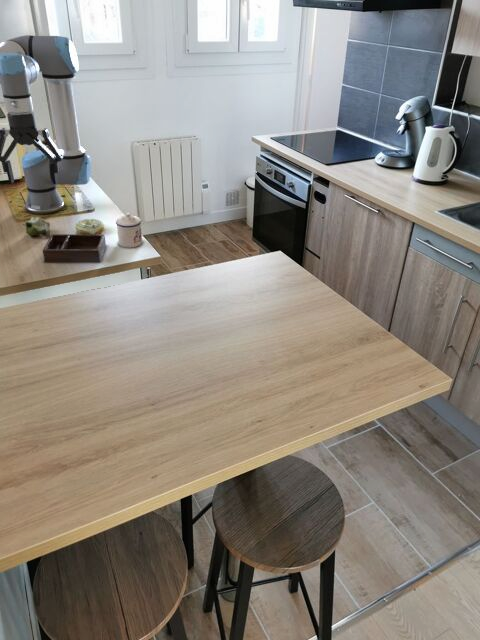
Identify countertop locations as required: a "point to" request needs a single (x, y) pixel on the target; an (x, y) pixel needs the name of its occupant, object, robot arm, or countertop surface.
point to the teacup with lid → (129, 231)
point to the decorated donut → (89, 227)
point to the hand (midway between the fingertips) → (33, 182)
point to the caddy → (74, 248)
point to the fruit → (37, 227)
